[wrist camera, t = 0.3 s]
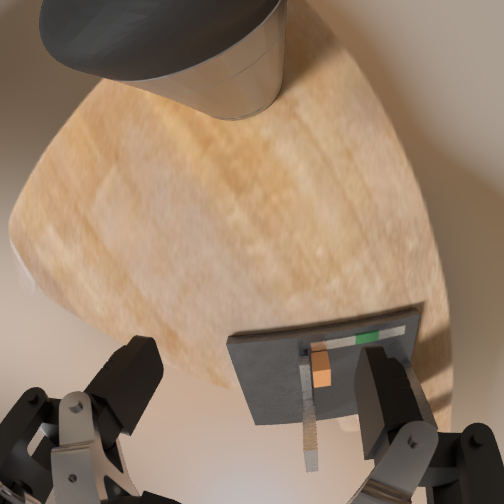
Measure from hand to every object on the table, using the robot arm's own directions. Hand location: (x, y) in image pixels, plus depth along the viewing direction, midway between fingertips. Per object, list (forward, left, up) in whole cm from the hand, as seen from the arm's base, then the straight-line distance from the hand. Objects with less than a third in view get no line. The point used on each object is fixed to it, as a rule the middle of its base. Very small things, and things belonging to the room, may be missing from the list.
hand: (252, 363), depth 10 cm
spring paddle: (+23, +1, -17) cm, 29 cm away
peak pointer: (+17, +3, -17) cm, 25 cm away
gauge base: (+23, +4, -19) cm, 30 cm away
